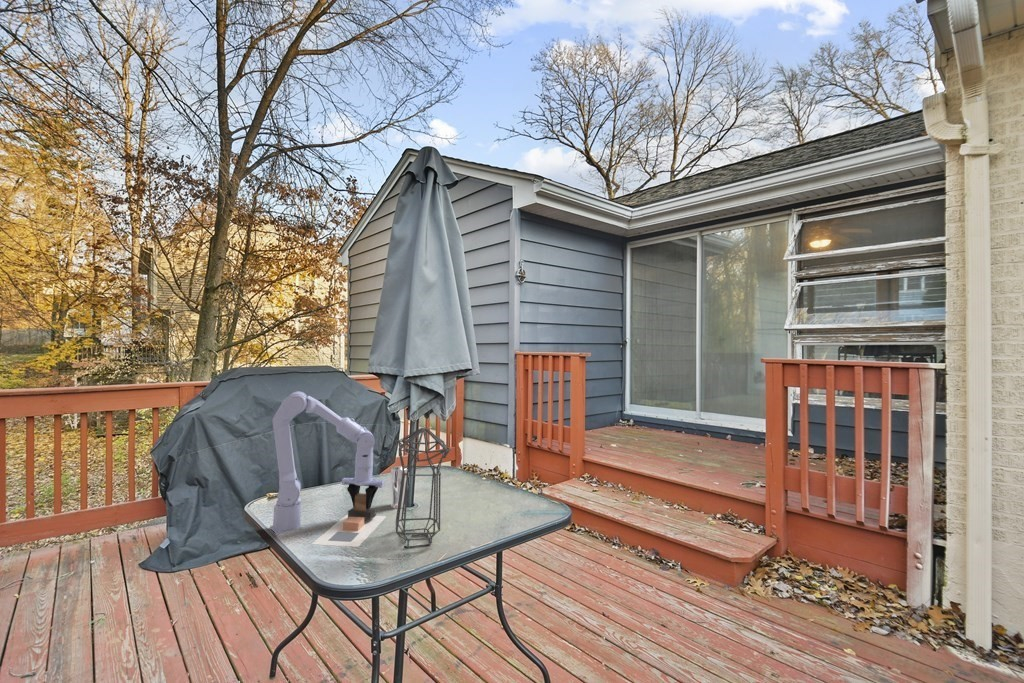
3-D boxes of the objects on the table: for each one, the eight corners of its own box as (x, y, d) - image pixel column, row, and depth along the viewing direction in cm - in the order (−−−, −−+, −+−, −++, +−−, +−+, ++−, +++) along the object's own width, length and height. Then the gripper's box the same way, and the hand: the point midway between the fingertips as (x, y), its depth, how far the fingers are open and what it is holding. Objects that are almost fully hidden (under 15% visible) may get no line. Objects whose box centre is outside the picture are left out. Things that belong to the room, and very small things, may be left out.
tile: (349, 524, 150) (349, 516, 151) (364, 525, 150) (364, 517, 150) (342, 530, 145) (343, 522, 146) (358, 530, 145) (358, 522, 145)
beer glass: (407, 511, 168) (409, 470, 168) (387, 512, 167) (389, 470, 167) (408, 505, 175) (410, 465, 175) (389, 505, 173) (391, 465, 174)
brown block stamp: (353, 514, 157) (354, 492, 158) (375, 515, 156) (376, 493, 156) (347, 518, 153) (348, 495, 154) (370, 520, 152) (371, 497, 152)
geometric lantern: (390, 533, 147) (397, 424, 149) (439, 531, 151) (445, 424, 153) (391, 553, 132) (399, 431, 134) (446, 550, 136) (453, 432, 138)
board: (346, 517, 160) (346, 514, 160) (386, 519, 159) (386, 516, 159) (311, 548, 134) (311, 544, 134) (358, 550, 133) (358, 546, 133)
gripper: (337, 468, 152) (335, 509, 152) (378, 471, 150) (377, 513, 150) (348, 463, 159) (346, 502, 159) (387, 466, 157) (386, 506, 157)
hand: (362, 507), depth 155 cm, fingers closed on brown block stamp, 4 cm apart
